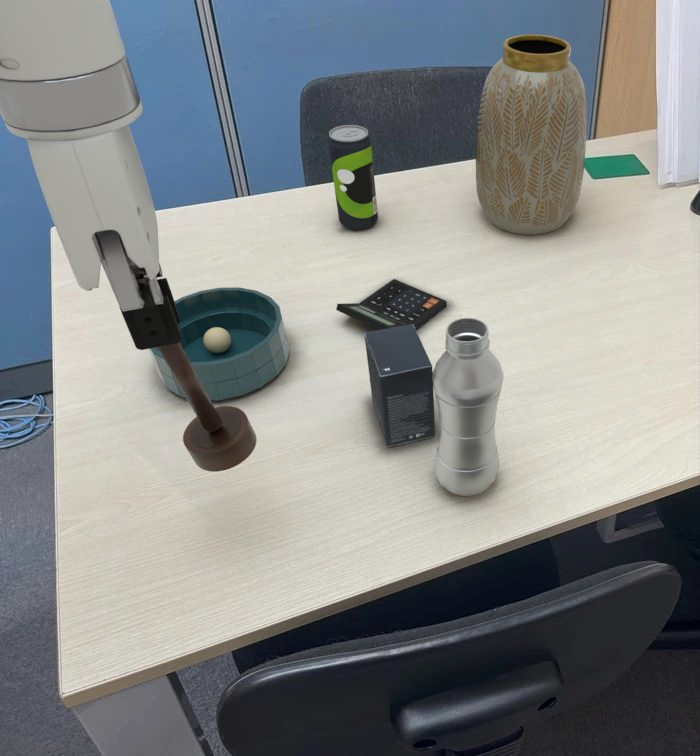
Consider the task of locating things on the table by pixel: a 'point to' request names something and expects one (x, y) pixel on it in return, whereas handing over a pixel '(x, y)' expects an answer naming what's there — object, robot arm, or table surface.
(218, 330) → the ball
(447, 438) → the plastic bottle
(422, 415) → the box
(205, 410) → the brown plunger
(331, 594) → the table surface
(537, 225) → the vase
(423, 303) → the calculator
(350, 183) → the beverage can
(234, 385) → the bowl
